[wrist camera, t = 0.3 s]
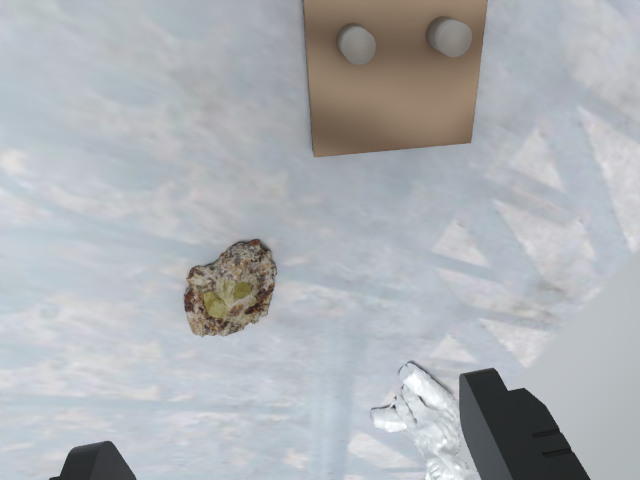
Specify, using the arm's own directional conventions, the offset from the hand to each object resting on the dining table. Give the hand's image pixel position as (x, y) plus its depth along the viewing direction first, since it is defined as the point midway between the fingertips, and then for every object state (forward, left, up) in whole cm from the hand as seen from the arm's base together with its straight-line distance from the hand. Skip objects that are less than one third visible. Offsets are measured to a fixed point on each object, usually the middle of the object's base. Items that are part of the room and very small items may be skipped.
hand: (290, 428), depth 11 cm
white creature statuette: (+34, +13, -28) cm, 46 cm away
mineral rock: (+16, -5, -28) cm, 33 cm away
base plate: (-4, +9, -28) cm, 29 cm away
